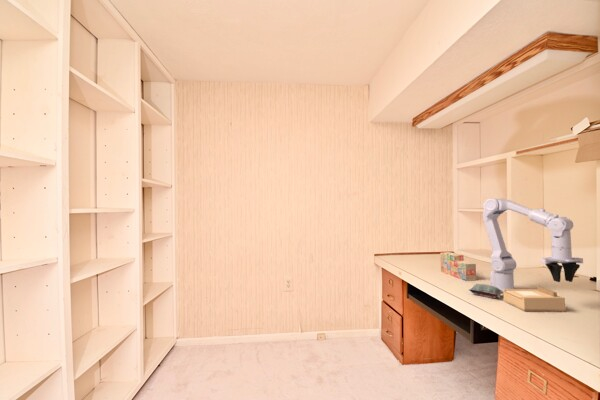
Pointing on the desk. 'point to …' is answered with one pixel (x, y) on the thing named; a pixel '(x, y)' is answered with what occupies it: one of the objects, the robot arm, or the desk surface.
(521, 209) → the robot arm
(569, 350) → the desk surface
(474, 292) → the packaged food
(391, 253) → the desk surface
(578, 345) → the desk surface
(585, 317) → the desk surface
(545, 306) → the light brown rectangular box
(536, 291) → the lid
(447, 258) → the stack of blocks
